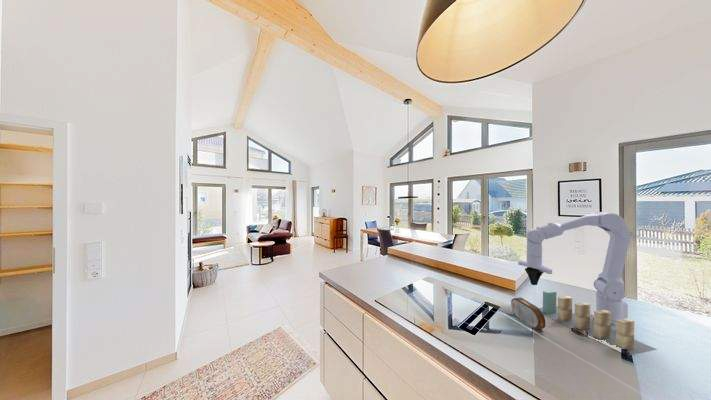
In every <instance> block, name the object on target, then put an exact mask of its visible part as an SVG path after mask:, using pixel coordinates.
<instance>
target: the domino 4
mask: <svg viewBox="0 0 711 400" xmlns="http://www.w3.org/2000/svg"><path fill="white" fill-rule="evenodd" d="M593 313H594V316H593V322H594V336H595V337H597V338H599V339H603V338H609V337H610V334H611V330H612V327H611V325H612V323H611V312H609V311H606V310H599V311H596V310H594V311H593Z"/></svg>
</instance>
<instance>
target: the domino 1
mask: <svg viewBox="0 0 711 400" xmlns="http://www.w3.org/2000/svg"><path fill="white" fill-rule="evenodd" d="M556 306H557V291H555V290H553V289H552V290H544V291H542V308H543V312H544V313H546V314H549V313H556Z"/></svg>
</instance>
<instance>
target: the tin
mask: <svg viewBox="0 0 711 400" xmlns="http://www.w3.org/2000/svg"><path fill="white" fill-rule="evenodd" d="M510 303H511V304H510V306H511V310H512V313H513V314H514V316H515V317H516V318H518V319H520V320H521V321H522V322H524V323H525V324H527V325H528V326H530V327H531V328H532V329H534V330H544V329H545V327H546V324H547V322H546V318H545V317H546V316H544V315H543V313H542V312H541V310H540V309H539V308H540V307H538V306H536V305H535V304H533V303H531V302H529V301H528V300H526V299H524V298H523V297H520V296H519V297H514V298H512V299H511V301H510Z"/></svg>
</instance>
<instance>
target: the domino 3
mask: <svg viewBox="0 0 711 400" xmlns="http://www.w3.org/2000/svg"><path fill="white" fill-rule="evenodd" d="M574 314H575V327H576V328H578V329H587V328H590V321H591V315H590V314H591V304H590V303H587V302H578V303H574Z"/></svg>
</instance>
